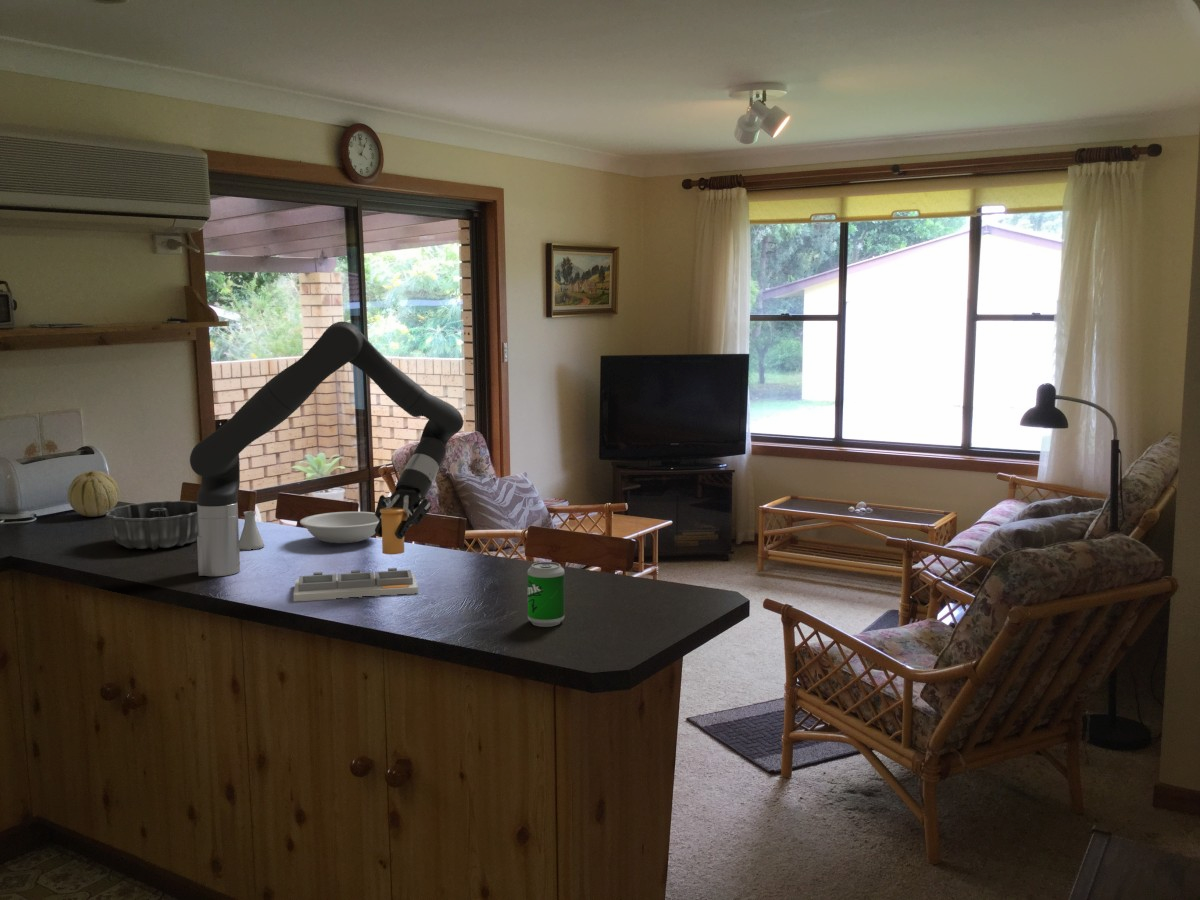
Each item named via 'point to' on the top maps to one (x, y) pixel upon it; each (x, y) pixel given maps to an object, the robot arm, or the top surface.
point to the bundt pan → (154, 524)
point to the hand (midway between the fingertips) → (388, 535)
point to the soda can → (546, 594)
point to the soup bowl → (341, 526)
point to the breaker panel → (354, 585)
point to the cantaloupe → (93, 493)
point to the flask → (250, 533)
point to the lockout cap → (391, 530)
